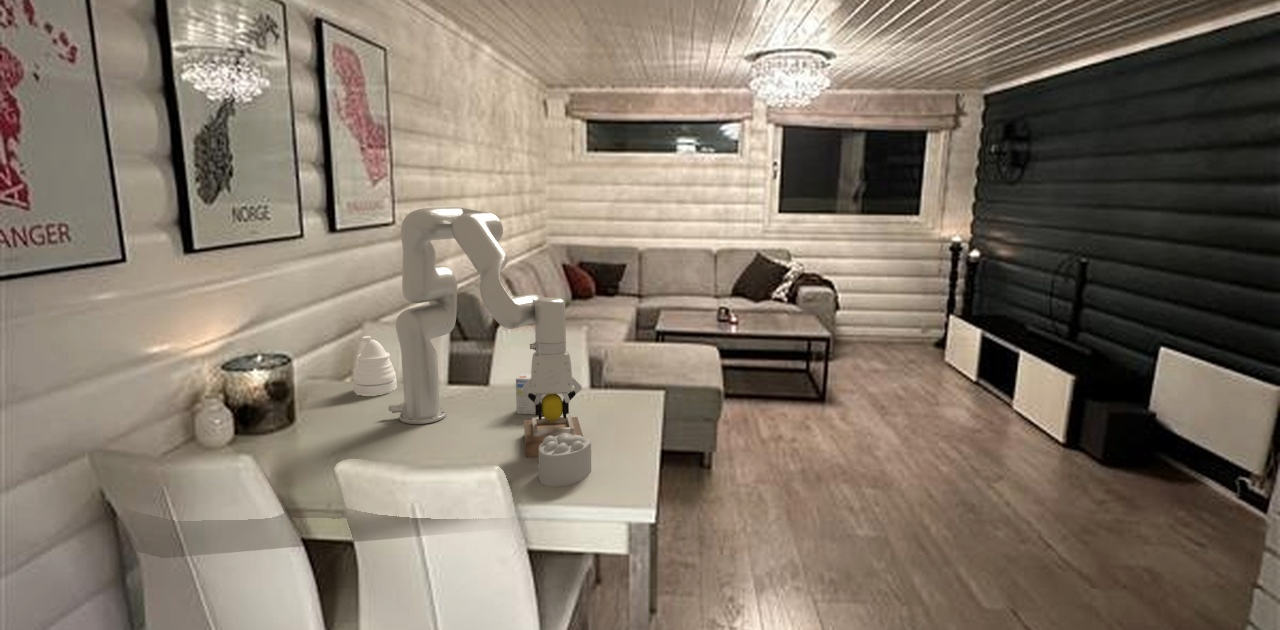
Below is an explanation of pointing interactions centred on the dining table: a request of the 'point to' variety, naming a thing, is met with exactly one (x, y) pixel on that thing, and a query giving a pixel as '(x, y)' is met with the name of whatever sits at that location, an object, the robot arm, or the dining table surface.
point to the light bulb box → (524, 396)
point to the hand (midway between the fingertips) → (552, 416)
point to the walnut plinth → (547, 431)
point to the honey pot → (374, 370)
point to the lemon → (552, 407)
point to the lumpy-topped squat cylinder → (564, 459)
